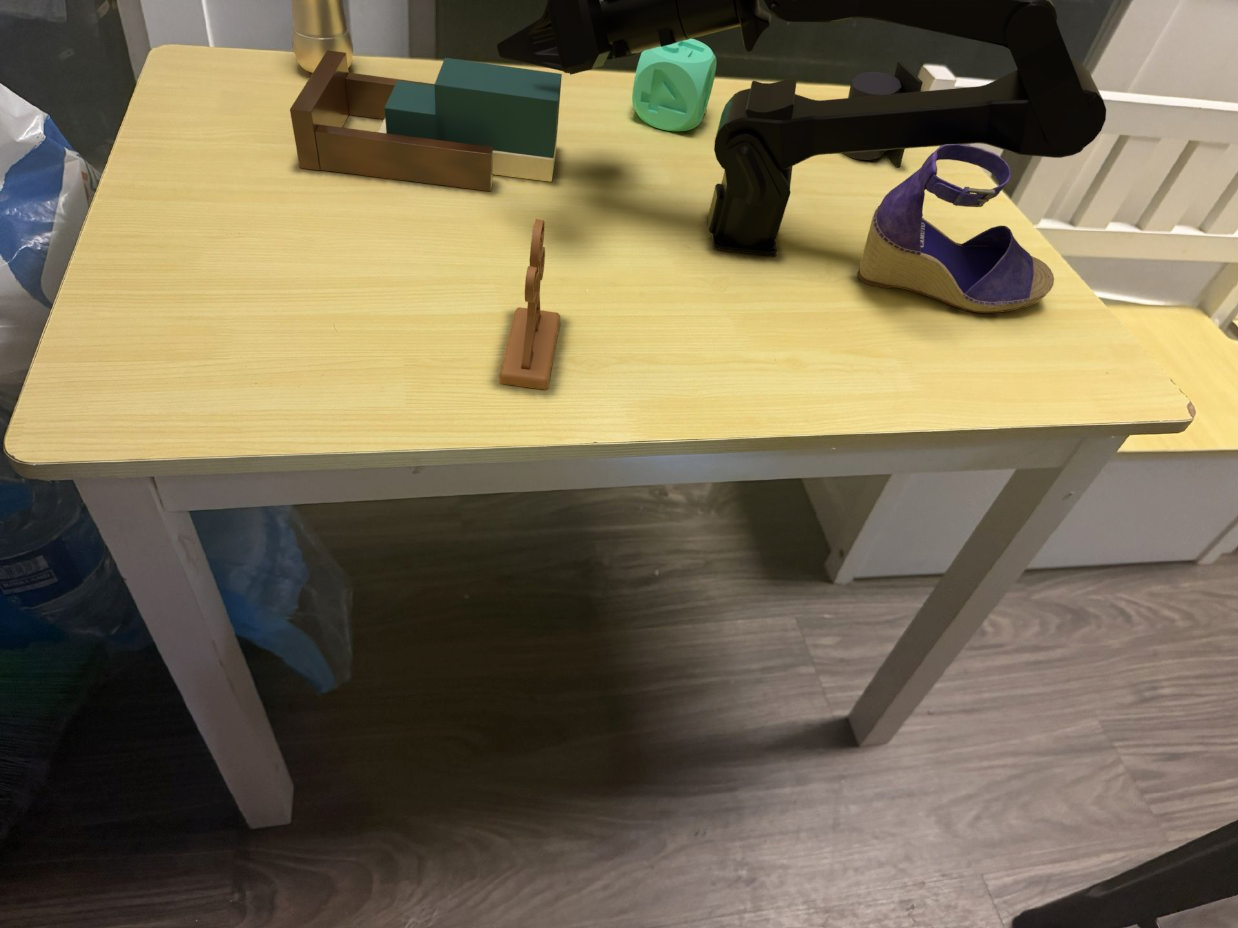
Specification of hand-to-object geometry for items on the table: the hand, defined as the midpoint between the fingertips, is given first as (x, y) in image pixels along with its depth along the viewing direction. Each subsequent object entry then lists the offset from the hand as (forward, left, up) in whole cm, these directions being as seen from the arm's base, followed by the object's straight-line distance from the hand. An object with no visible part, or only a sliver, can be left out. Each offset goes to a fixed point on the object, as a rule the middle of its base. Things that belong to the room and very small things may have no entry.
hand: (518, 46), depth 75 cm
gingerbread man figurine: (-4, +26, -14) cm, 30 cm away
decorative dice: (-17, -21, -14) cm, 30 cm away
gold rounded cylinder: (+24, -21, -14) cm, 35 cm away
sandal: (-44, +9, -13) cm, 47 cm away
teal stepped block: (+5, -5, -14) cm, 16 cm away
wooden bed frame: (+11, -5, -14) cm, 18 cm away
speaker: (-41, -18, -14) cm, 47 cm away
